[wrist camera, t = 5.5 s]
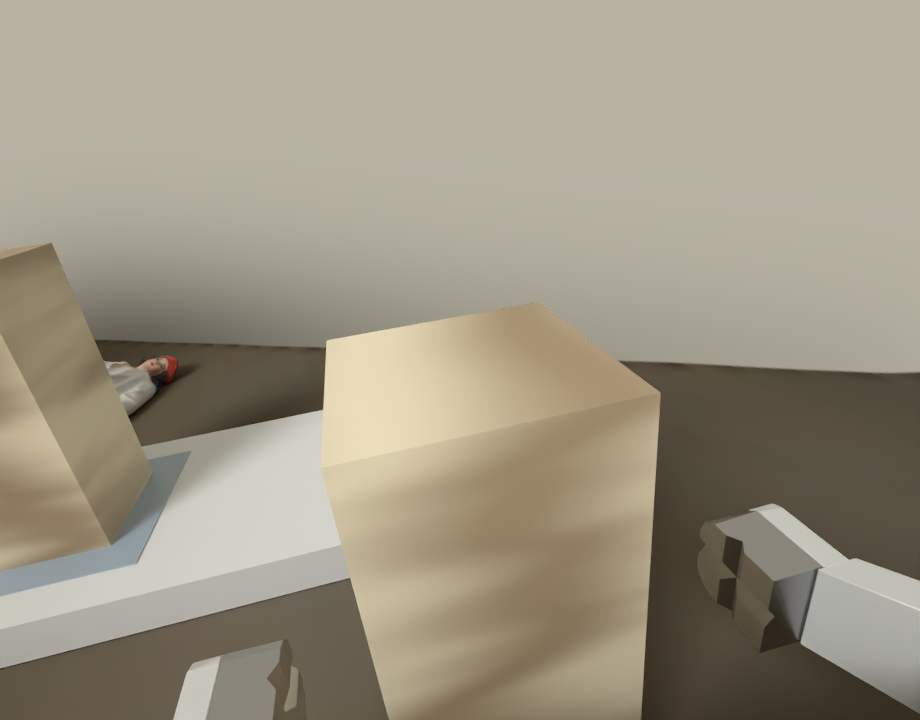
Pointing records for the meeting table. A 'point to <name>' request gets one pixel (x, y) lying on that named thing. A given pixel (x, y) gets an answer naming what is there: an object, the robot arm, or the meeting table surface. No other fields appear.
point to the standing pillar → (57, 421)
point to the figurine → (141, 379)
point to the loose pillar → (494, 515)
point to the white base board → (188, 543)
